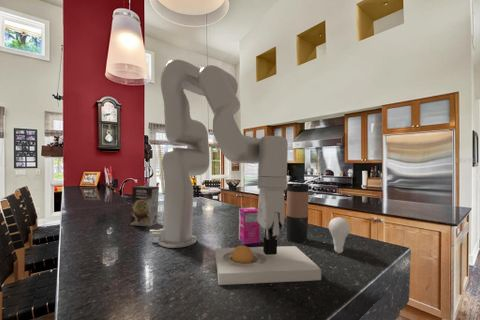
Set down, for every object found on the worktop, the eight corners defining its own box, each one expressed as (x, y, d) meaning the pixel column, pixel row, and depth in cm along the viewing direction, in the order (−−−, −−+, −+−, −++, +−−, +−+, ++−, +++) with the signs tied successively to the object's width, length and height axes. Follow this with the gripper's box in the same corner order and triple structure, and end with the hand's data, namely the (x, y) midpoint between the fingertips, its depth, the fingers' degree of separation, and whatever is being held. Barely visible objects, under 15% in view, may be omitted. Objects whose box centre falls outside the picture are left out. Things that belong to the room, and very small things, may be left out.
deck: (218, 284, 53) (219, 273, 53) (215, 256, 69) (215, 248, 69) (321, 280, 56) (321, 269, 56) (295, 254, 72) (295, 246, 72)
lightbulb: (323, 251, 76) (324, 216, 76) (338, 248, 78) (339, 214, 78) (338, 258, 70) (339, 220, 70) (354, 255, 73) (354, 219, 73)
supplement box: (238, 240, 84) (238, 207, 84) (253, 239, 86) (254, 207, 86) (243, 246, 79) (244, 210, 79) (260, 244, 80) (260, 210, 81)
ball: (234, 245, 60) (255, 247, 61) (231, 243, 65) (251, 245, 66) (232, 269, 58) (254, 270, 59) (229, 265, 64) (250, 266, 64)
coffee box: (130, 225, 100) (131, 186, 101) (139, 221, 107) (140, 185, 107) (150, 226, 99) (151, 187, 99) (158, 223, 105) (159, 186, 105)
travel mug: (305, 236, 90) (306, 183, 91) (309, 243, 83) (310, 185, 83) (285, 235, 91) (286, 183, 91) (286, 242, 83) (288, 184, 84)
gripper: (252, 180, 70) (250, 244, 70) (265, 185, 55) (262, 266, 55) (277, 181, 71) (275, 243, 71) (296, 186, 56) (294, 265, 56)
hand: (269, 253), depth 63 cm, fingers closed
